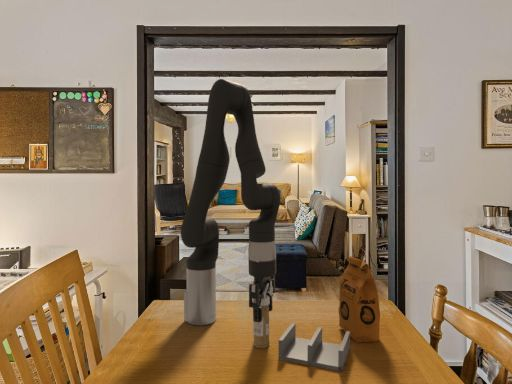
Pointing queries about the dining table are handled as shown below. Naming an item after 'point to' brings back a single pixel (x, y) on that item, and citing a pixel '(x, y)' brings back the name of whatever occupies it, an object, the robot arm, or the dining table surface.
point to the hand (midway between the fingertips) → (263, 315)
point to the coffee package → (359, 302)
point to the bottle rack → (313, 350)
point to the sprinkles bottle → (262, 326)
